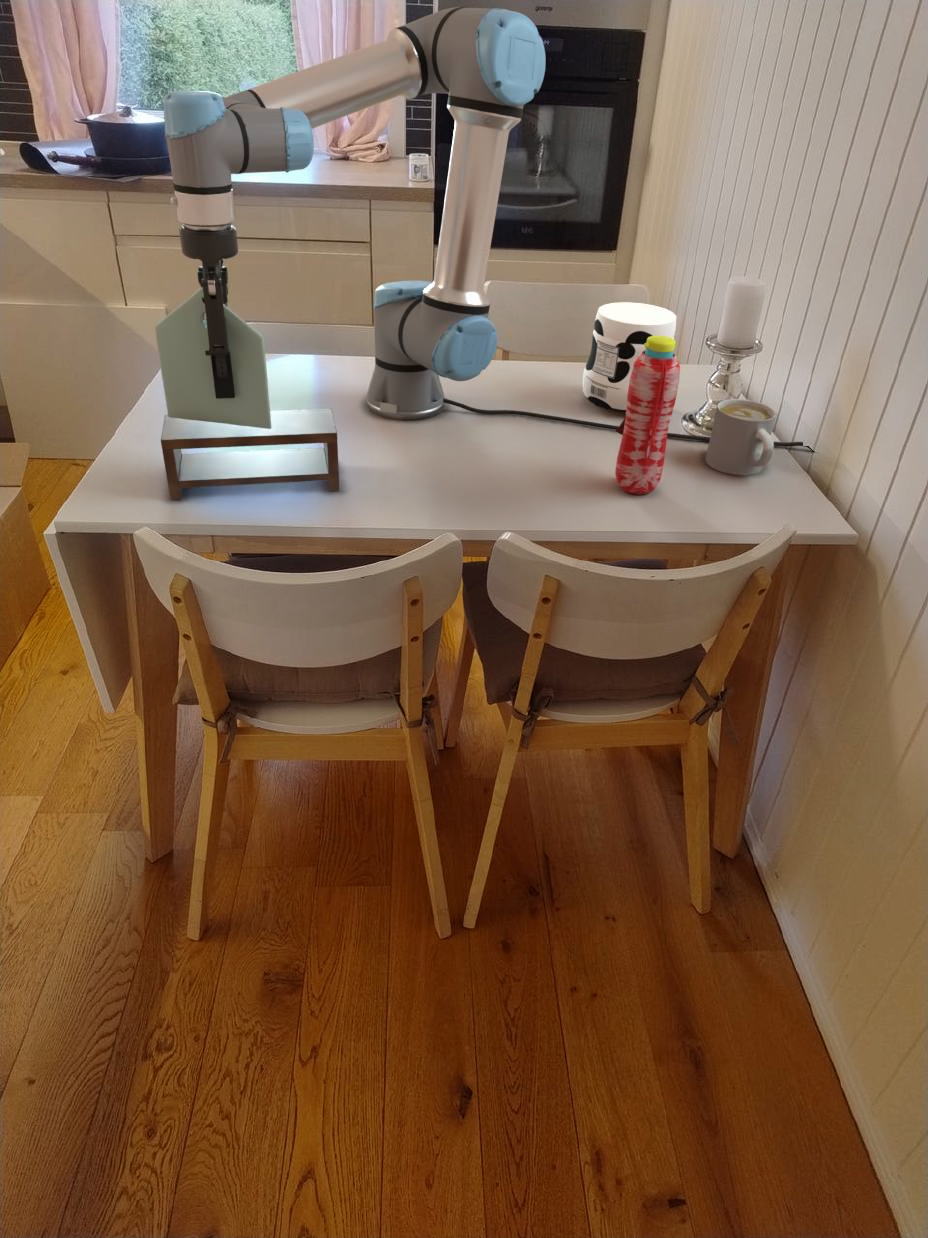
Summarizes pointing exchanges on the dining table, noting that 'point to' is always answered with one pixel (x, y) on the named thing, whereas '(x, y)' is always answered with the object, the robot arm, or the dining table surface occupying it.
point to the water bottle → (647, 416)
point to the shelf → (251, 464)
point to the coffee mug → (741, 437)
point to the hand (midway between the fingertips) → (225, 385)
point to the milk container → (621, 349)
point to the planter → (192, 369)
